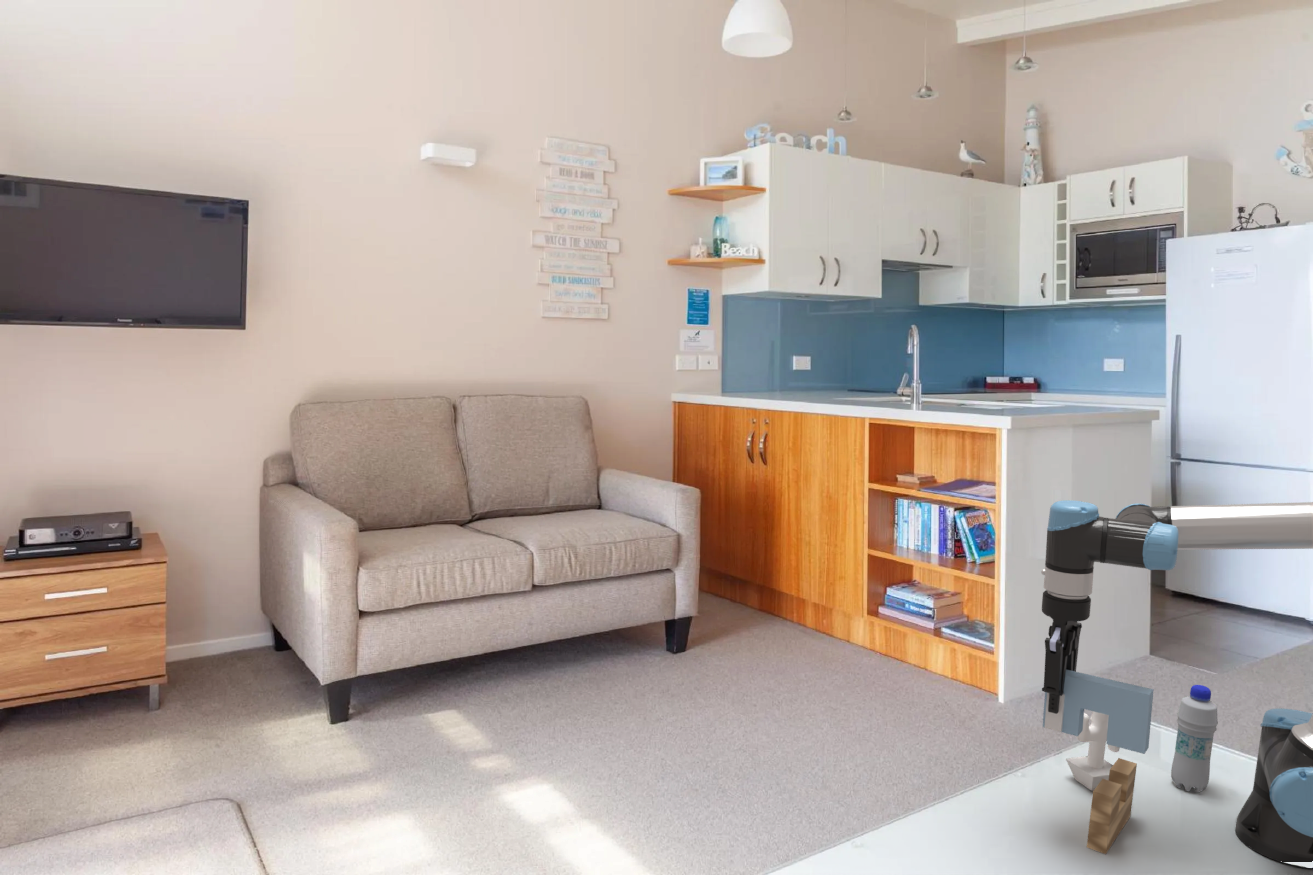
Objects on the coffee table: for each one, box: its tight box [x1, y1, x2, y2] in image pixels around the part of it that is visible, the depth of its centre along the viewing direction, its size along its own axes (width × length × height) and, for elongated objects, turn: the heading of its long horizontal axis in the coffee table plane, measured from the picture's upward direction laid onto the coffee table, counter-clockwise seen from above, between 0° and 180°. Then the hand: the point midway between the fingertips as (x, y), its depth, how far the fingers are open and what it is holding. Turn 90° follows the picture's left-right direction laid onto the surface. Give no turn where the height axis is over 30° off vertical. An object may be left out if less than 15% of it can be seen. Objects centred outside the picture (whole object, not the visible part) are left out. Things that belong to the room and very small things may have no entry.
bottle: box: [1170, 684, 1218, 793], centre depth 183 cm, size 7×7×20 cm
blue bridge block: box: [1042, 670, 1154, 755], centre depth 163 cm, size 16×3×10 cm, turn 52°
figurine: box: [1065, 711, 1121, 792], centre depth 183 cm, size 7×9×15 cm
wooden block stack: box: [1086, 757, 1138, 855], centre depth 167 cm, size 3×16×10 cm, turn 141°
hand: (1056, 725), depth 167 cm, fingers closed on blue bridge block, 3 cm apart
